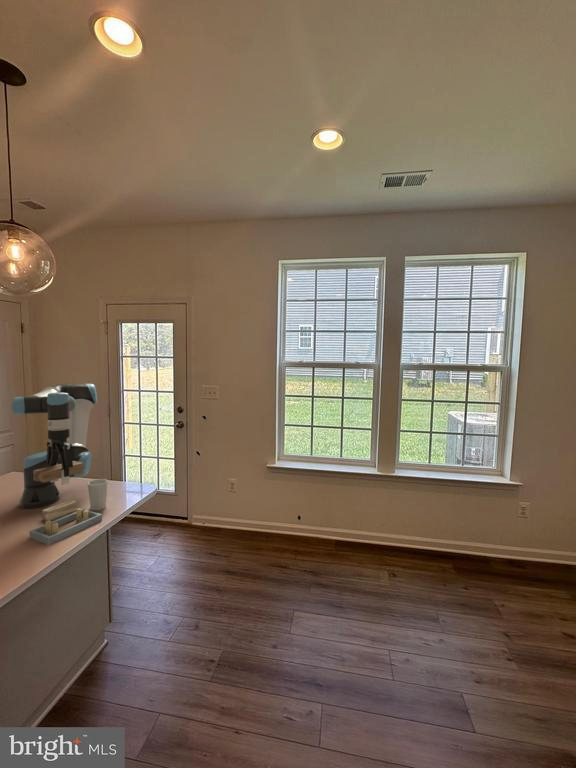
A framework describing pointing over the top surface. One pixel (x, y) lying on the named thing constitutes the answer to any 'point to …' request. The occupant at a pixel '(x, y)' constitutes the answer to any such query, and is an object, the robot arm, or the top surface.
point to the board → (56, 472)
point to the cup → (97, 493)
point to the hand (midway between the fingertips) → (59, 482)
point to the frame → (54, 525)
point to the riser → (59, 510)
